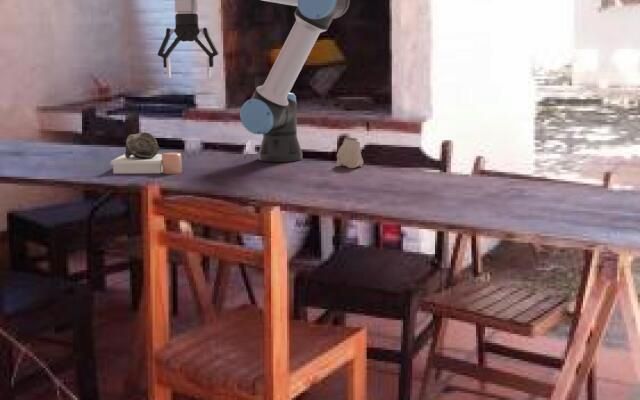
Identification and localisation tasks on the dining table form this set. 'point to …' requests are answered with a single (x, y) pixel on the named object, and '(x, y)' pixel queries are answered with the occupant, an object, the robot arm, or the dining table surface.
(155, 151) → the fossil
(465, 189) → the dining table surface
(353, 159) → the beige rough lump
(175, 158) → the peach rounded glossy part
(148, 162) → the stand
